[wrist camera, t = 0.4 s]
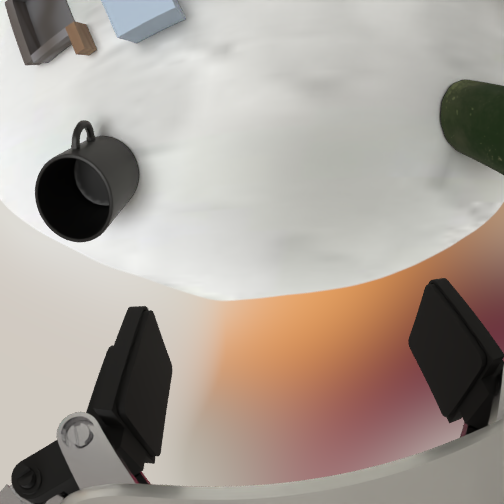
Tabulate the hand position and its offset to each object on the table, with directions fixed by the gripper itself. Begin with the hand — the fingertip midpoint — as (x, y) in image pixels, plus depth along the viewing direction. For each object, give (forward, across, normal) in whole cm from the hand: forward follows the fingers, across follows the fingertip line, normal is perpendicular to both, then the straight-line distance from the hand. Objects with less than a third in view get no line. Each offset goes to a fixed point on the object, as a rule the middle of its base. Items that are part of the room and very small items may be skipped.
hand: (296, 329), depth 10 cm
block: (+28, +10, -18) cm, 35 cm away
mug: (+28, +18, -1) cm, 33 cm away
